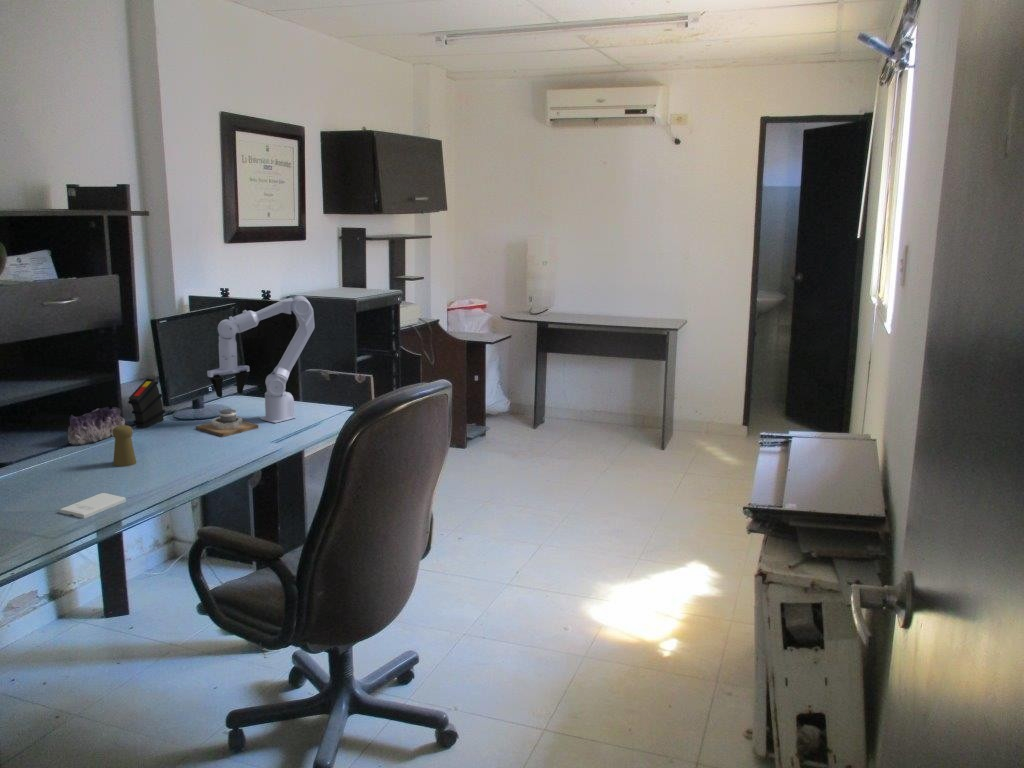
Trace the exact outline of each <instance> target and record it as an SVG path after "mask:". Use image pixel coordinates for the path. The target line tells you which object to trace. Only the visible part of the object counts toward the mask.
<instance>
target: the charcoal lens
mask: <svg viewBox="0 0 1024 768" xmlns="http://www.w3.org/2000/svg"><path fill="white" fill-rule="evenodd" d="M236 416H237V410H236V409H231V408H230V409H222V410H220V411H219V417H220V422H222V423H228V422H234V421H236Z"/></svg>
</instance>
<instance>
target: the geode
mask: <svg viewBox="0 0 1024 768" xmlns="http://www.w3.org/2000/svg"><path fill="white" fill-rule="evenodd" d="M121 413H122V410H121V408H120V407H117V406H114V407H113V406H112V407H111V408H110V406H107V407H101V408H96V409H94V410H92V411H91V412H87V413H84V414H82V415H80V416H74V415H73V414H71V415H70V416H69V418H68V419H69V426H68V429H67V432H68V433H67V442H68V441H69V442H71V445H70V446H71V447H79V446H80V447H81V446H87V445H92V444H95V443H97V442H99V441H102V440H104V439H107V438H110V437H114V436H113V429H114V428H115V427H117V426H121V425H126V420H125V418H124V417H122V416H121Z"/></svg>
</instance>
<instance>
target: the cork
mask: <svg viewBox="0 0 1024 768" xmlns="http://www.w3.org/2000/svg"><path fill="white" fill-rule="evenodd" d="M133 430H134V429H133V428H132V426H130V425H126V424H125V425H121V426H117V427H115V428H114V429H113V436H112V437H114V451H113V461H112V464H113V466H114V467H120V468H121V467H130V466H134V465H136V464H137V458H136V454H135V450H134V446H133V441H132V436H133V433H134V431H133Z"/></svg>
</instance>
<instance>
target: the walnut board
mask: <svg viewBox="0 0 1024 768" xmlns="http://www.w3.org/2000/svg"><path fill="white" fill-rule="evenodd" d="M242 423H243V425H242V426H241V427H239V428H235V429H227V430H223V429H215V428H213V427H212V421H211V422H208V423H204V424H200V425H196V426H195V430H198V431H201V432H204V433H209V434H211V435H216V436H218V437H222V438H224V437H229V436H231V435H235V434H240V433H244V432H248V431H252V430H256V429H259V424H256V423H252V422H247V421H245V420H242Z"/></svg>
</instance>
